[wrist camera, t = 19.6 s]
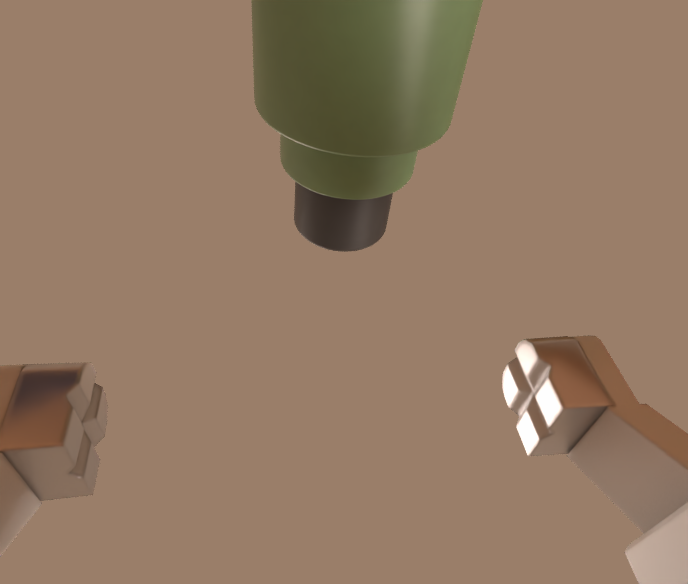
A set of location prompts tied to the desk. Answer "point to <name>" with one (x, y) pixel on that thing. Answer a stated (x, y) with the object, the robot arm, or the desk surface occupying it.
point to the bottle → (356, 101)
